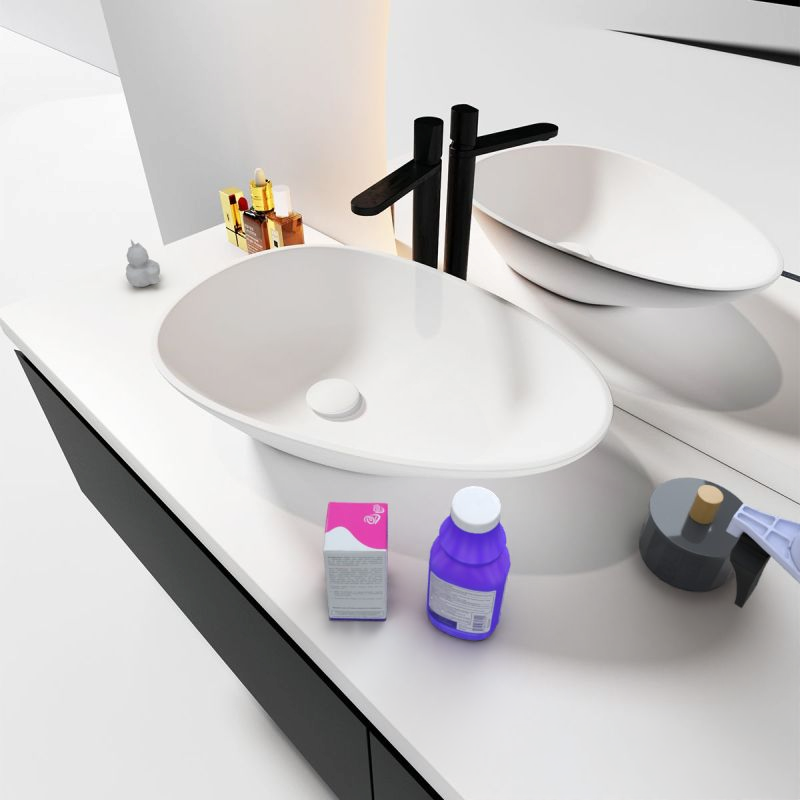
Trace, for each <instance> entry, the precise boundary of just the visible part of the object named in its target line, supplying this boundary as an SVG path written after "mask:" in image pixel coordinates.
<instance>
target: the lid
mask: <svg viewBox="0 0 800 800" xmlns="http://www.w3.org/2000/svg"><path fill="white" fill-rule="evenodd" d="M743 504H745V503H744V502H743V501H742V500H741V499H740V498H739V497H738V496H737V495H736V494H734V493H733V492H732V491H730V490H728V489H727V488H725V487H724V486H721V485H720V484H717V483H716V482H713V481H710V480H706V479H703V478H698V477H697V478H696V477H677V478H672V479H669V480H667V481H664V482H662V483H660V484H659V485H658V486H657V487H655V489H654V490H653V492H652V493H651V495H650V498H649V502H648V511H649V515H650V519H651V521H652V523H653V525H654V527H655V529H656V530H657V531H658V533H659V534H660V535H661V536H662V537H663V538H664V539H665V540H666V541H667V542H669V543H670V544H671V545H673V546H674V547H676V548H677V549H679V550H681V551H683V552H685V553H687V554H690V555H693V556H696V557H700V558H704V559H714V560H719V559H727V558H730V553H731V550H732V548H733V547H734V546H735V544H736V543H737V541H738V540H739V538H740V537H735V536H733V535H732V534H730V533H728V532H727V531H726V530H727V528H728V526H729V524H730V522H731V520H732V518H733V516H734V515H735V514H736V512H737V511H738V510H739V508H740V507H741V506H742V505H743Z"/></svg>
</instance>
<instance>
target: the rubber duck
mask: <svg viewBox="0 0 800 800" xmlns="http://www.w3.org/2000/svg"><path fill="white" fill-rule="evenodd" d="M130 245H131V246H129V247H128V249H127V251H126V252H127V253H126V260H127V262H128V264H127V265H126V267H125V270H126V271H125V277H126V280H127V281H128V283H130V285H132V286H134V287H138V288H144V287H148V286H150V285H156V284H158V283H160V275H161V267H160V264H159V262H157V261H155V260H153V259H149V254H148V250H147V249H146V248H145V247H144V246H143V245H142V244H141V243H139V242H136V243H135V242H134V241H133V240H132V239H130Z"/></svg>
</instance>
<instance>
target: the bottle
mask: <svg viewBox="0 0 800 800" xmlns="http://www.w3.org/2000/svg"><path fill="white" fill-rule="evenodd" d="M501 510H502V505H501V500H500V499H499V497H498V496H497V495H496V494H495V493H494V492H493V491H492V490H490V489H488V488H486V487H483V486H477V485H472V486H466V487H462V488H461V489H459V490H458V491H457V492H456V493H455V494H454V495H453V497H452V500H451V506H450V510H449V511H450V513H449V515H448V516H447V517H446V518H444V520H443V521H442V523H441V524H440V525H439V529H438V535H437V537H435V540H434V541H433V542H432V545H431V547H430V551H429V560H428V574H427V590H426V591H427V592H426V613H427V616H428V619H429V621H430V622H431V624H432V625H433V626H434V627H435V628H437V629H438V630H439V631H441V632H443V633H445V634H447V635H449V636H452V637H454V638H457V639H462V640H465V641H466V640H467V641H481V640H482V641H483V640H485V639H487V638H488V637H489V636H491V635H492V634H493V632H494V631H495V630H496V628H497V626H498V625H499V623H500V619H501V616H502V608H503V604H504V598H505V593H506V587H507V583H508V577H509V573H510V569H511V556H510V552H509V548H508V546H507V534H506V532H505V529H504V526H503V524H501V517H502V515H501V512H502V511H501Z"/></svg>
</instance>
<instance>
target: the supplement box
mask: <svg viewBox="0 0 800 800" xmlns="http://www.w3.org/2000/svg"><path fill="white" fill-rule="evenodd" d="M388 529H389V504H388V502H348V501H347V502H346V501H329V502H328V503H327V509H326V516H325V527H324V536H323V545H322V546H323V547H322V555H323V565H324V575H325V586H326V594H327V606H328V620H329V621H333V622H347V621H348V622H386V620H387V613H388V611H387V609H388V567H389V564H388V563H389V530H388Z"/></svg>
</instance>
